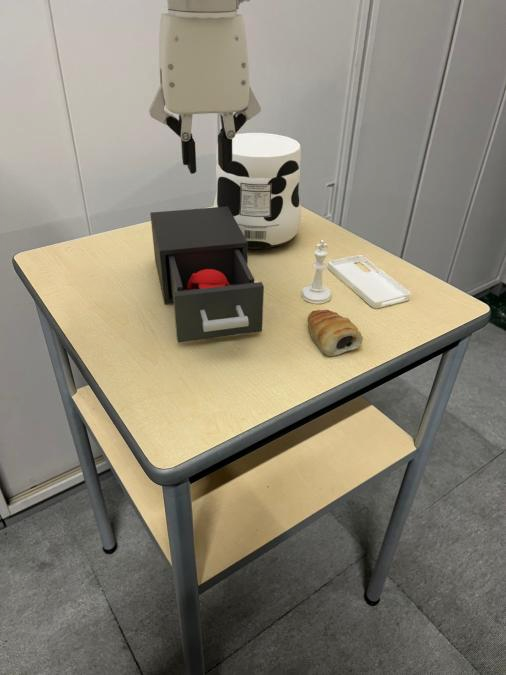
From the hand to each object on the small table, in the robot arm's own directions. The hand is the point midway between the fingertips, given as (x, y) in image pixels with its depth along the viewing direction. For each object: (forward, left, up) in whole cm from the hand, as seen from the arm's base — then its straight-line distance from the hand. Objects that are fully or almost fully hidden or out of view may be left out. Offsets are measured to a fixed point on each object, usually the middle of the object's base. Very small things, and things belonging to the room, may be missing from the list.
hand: (207, 167), depth 67 cm
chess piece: (+18, +2, -23) cm, 30 cm away
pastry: (+16, -10, -23) cm, 30 cm away
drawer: (0, -2, -22) cm, 22 cm away
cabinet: (0, +12, -23) cm, 26 cm away
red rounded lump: (0, 0, -21) cm, 21 cm away
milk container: (+14, +26, -23) cm, 38 cm away
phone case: (+28, +4, -23) cm, 37 cm away
